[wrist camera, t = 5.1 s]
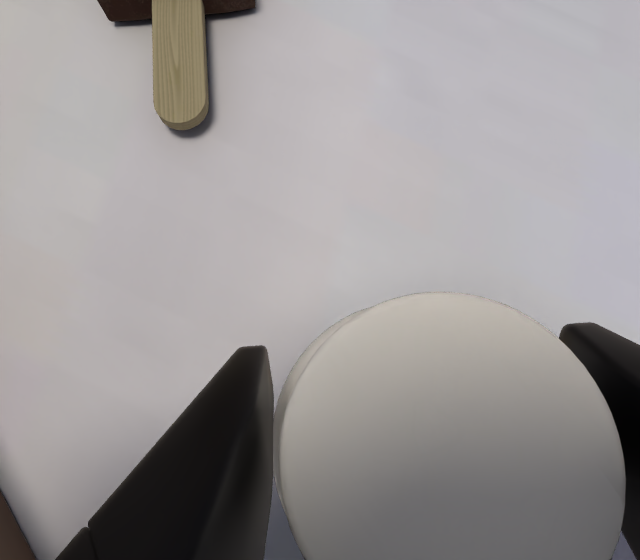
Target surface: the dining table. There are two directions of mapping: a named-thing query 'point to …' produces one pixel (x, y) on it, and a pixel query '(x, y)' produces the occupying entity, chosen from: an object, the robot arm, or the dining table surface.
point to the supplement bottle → (446, 439)
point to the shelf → (12, 536)
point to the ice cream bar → (176, 52)
